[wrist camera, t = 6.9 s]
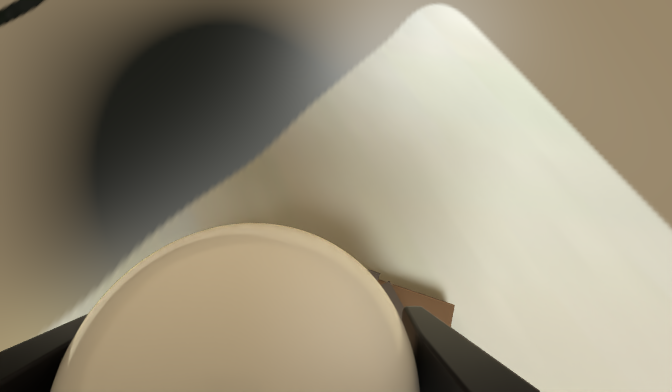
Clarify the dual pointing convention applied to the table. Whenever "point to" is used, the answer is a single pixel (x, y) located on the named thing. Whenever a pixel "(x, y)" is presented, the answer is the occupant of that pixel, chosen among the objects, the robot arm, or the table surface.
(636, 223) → the table surface
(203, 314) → the lightbulb
